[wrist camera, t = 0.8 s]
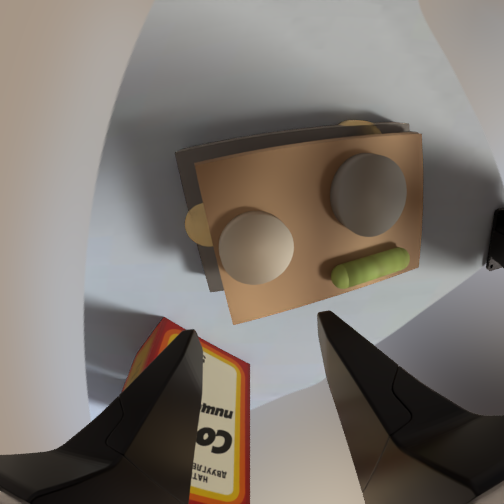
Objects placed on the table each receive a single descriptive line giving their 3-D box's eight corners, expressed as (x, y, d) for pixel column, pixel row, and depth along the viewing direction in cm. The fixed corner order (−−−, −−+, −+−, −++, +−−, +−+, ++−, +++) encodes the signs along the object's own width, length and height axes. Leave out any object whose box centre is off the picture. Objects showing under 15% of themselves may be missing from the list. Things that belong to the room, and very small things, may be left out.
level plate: (409, 131, 16) (443, 136, 13) (409, 254, 20) (437, 273, 17) (193, 161, 14) (195, 169, 12) (228, 307, 18) (237, 340, 15)
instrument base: (393, 118, 18) (408, 119, 16) (397, 251, 22) (408, 263, 20) (174, 146, 19) (166, 149, 17) (208, 280, 23) (204, 296, 21)
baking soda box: (136, 354, 27) (88, 495, 13) (163, 316, 25) (109, 486, 11) (213, 394, 30) (201, 530, 15) (249, 364, 28) (249, 523, 13)
